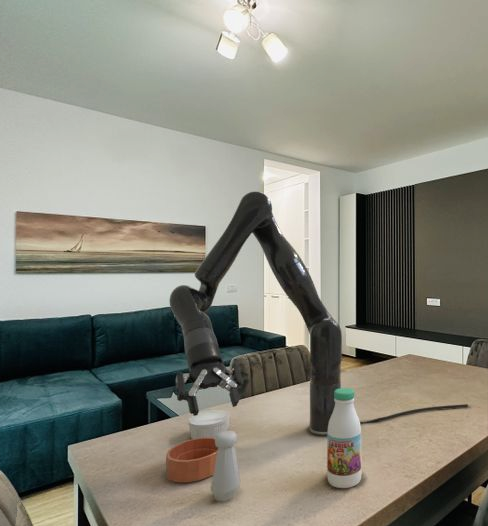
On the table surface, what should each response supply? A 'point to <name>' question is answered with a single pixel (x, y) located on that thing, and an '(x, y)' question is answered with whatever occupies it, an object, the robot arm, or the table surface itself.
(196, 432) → the ramekin
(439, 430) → the table surface
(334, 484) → the milk bottle
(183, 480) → the bowl
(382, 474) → the table surface
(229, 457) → the salt shaker
